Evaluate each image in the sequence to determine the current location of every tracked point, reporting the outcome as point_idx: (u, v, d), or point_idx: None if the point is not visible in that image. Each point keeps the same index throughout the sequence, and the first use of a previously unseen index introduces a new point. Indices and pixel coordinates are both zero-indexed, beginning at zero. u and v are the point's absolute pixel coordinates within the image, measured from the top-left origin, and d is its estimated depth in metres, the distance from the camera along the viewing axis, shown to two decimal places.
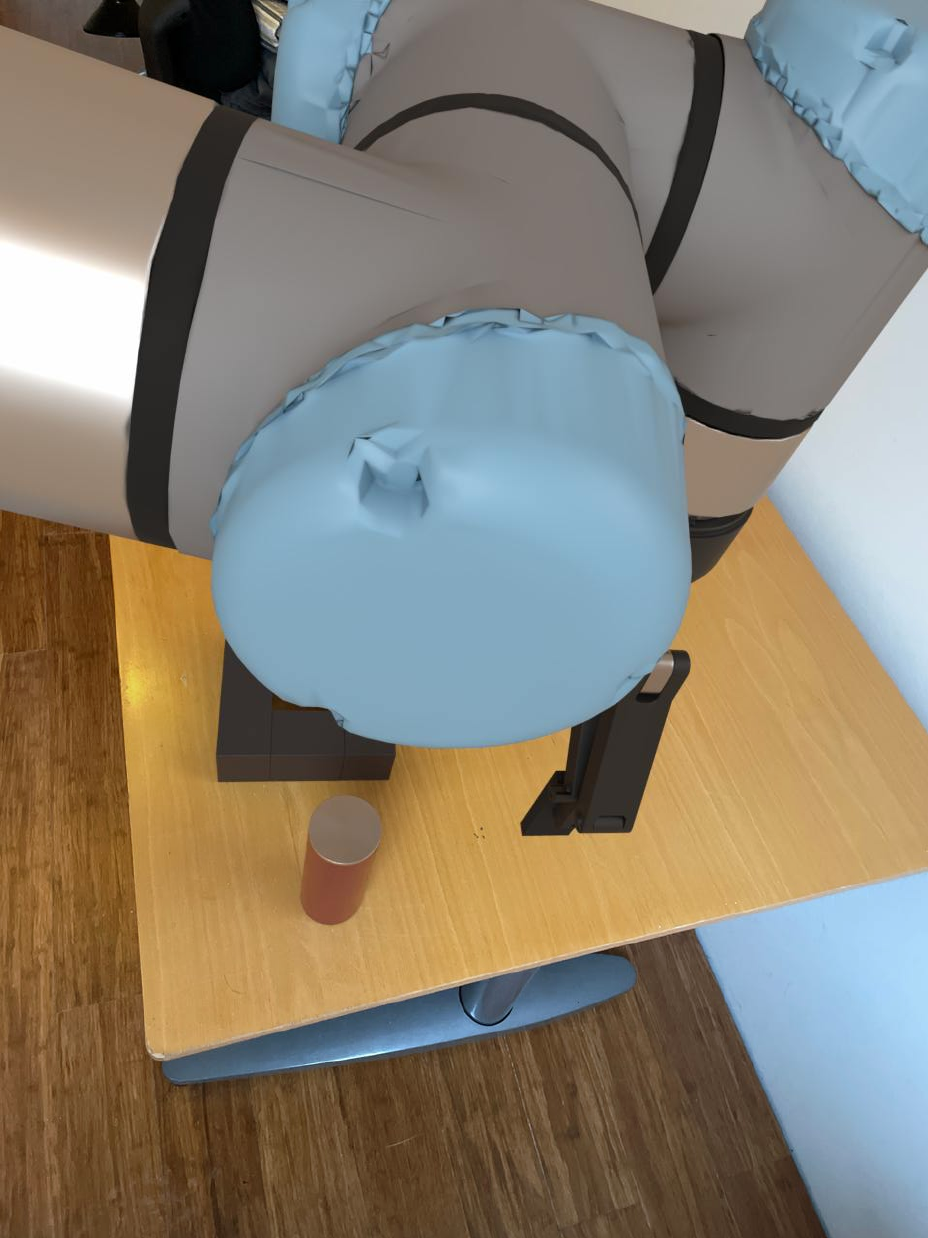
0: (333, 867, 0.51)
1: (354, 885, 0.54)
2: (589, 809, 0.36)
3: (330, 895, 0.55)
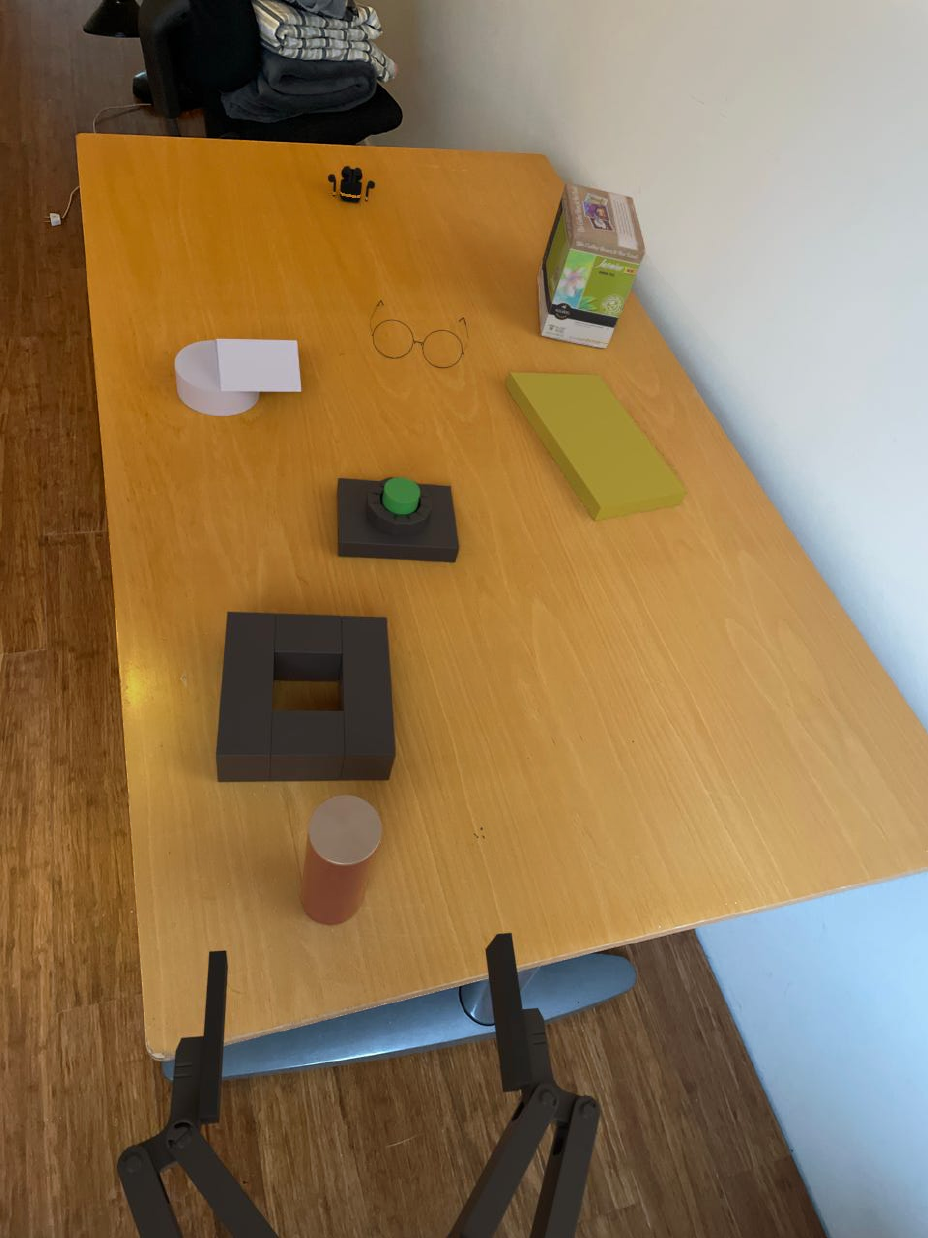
0: (333, 867, 0.51)
1: (354, 885, 0.54)
2: (128, 1203, 0.31)
3: (330, 895, 0.55)
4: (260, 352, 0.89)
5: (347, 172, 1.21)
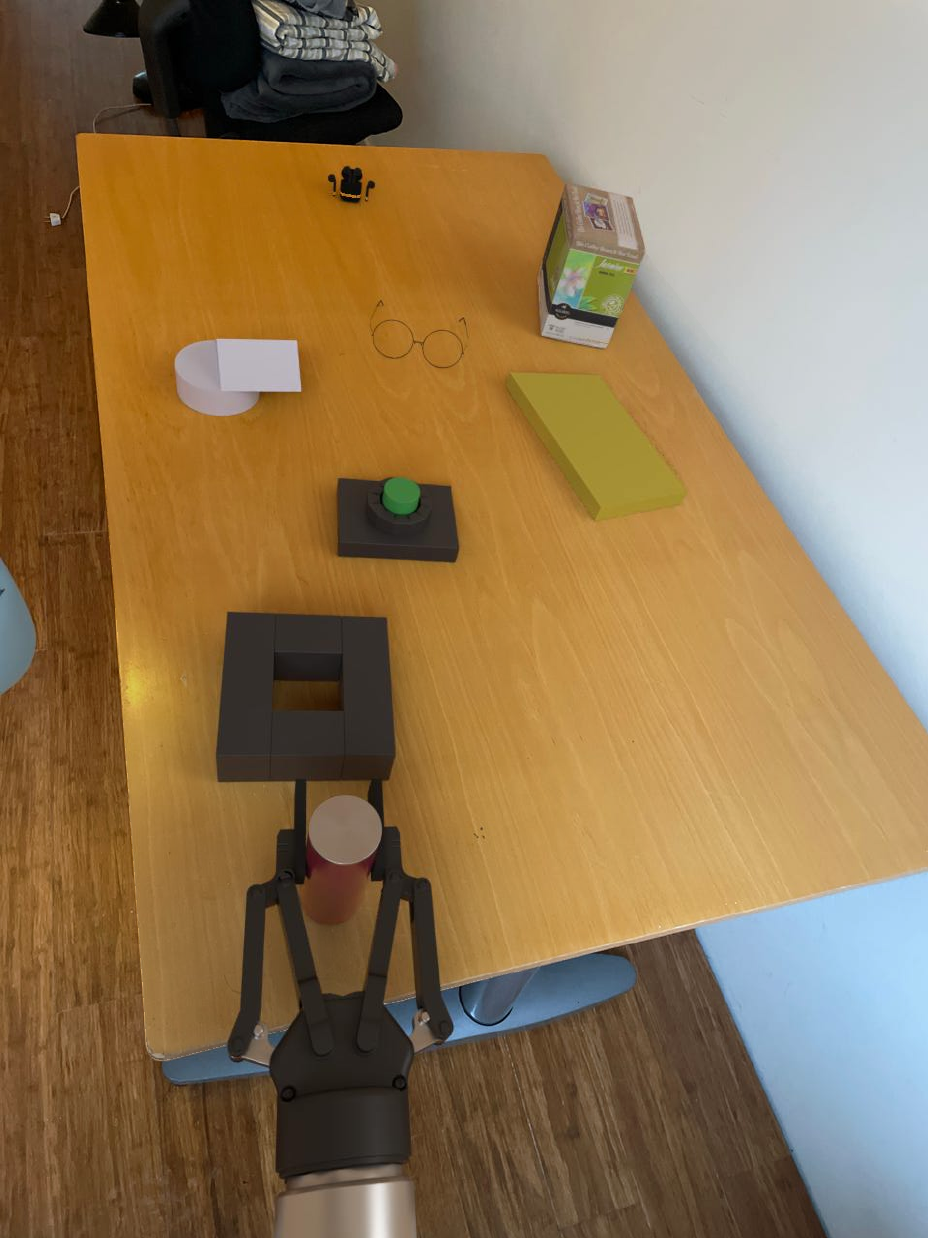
0: (333, 867, 0.51)
1: (354, 885, 0.54)
2: None
3: (330, 895, 0.55)
4: (260, 352, 0.89)
5: (347, 172, 1.21)
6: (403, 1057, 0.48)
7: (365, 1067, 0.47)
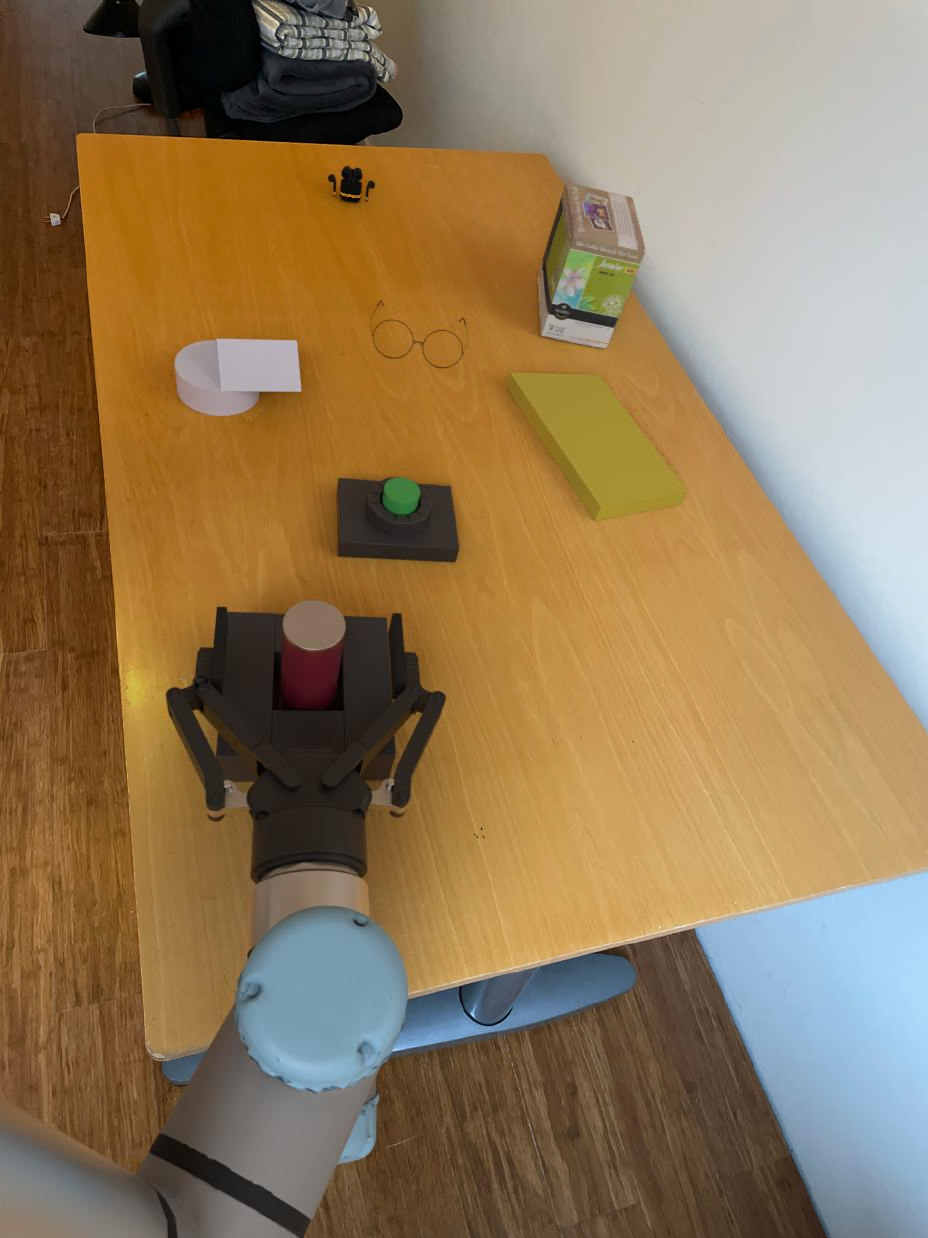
0: (303, 653, 0.60)
1: (323, 680, 0.63)
2: (172, 710, 0.57)
3: (302, 692, 0.64)
4: (260, 352, 0.89)
5: (347, 172, 1.21)
6: (362, 796, 0.56)
7: (329, 801, 0.55)
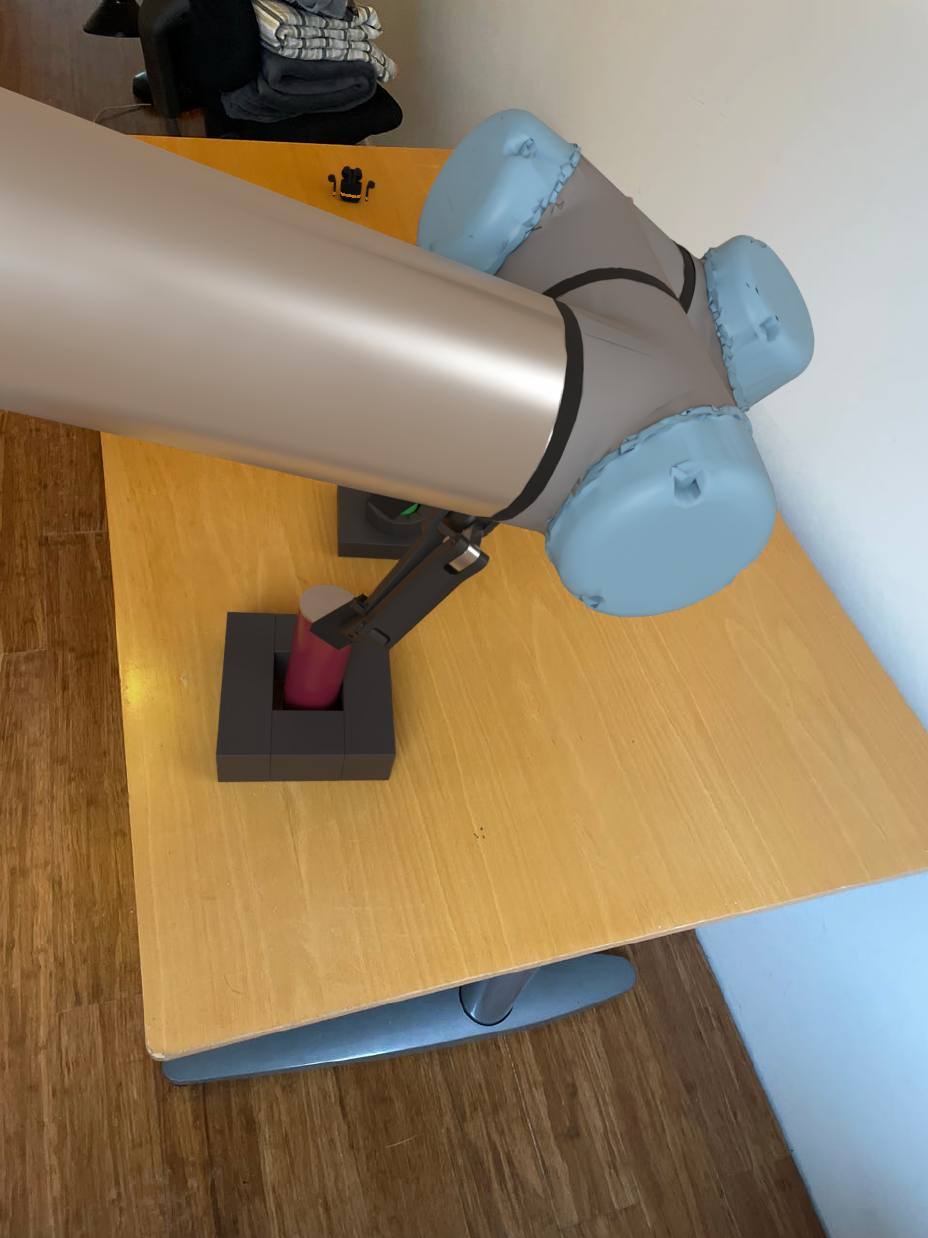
0: None
1: (334, 664, 0.63)
2: (373, 618, 0.52)
3: (313, 678, 0.64)
4: None
5: (347, 172, 1.21)
6: None
7: None
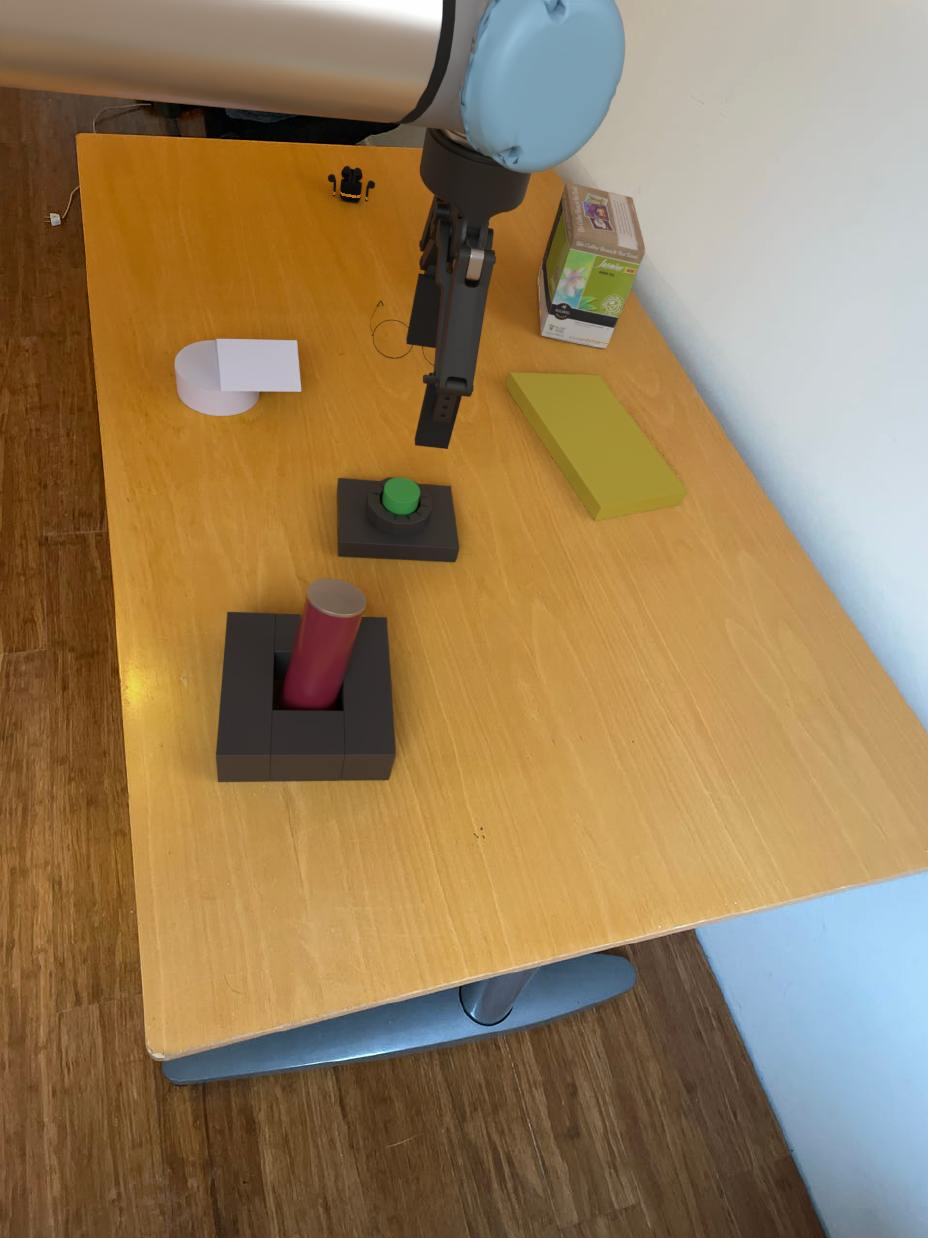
0: (329, 620, 0.61)
1: (340, 657, 0.63)
2: (441, 369, 0.57)
3: (317, 672, 0.64)
4: (260, 352, 0.89)
5: (347, 172, 1.21)
6: None
7: None
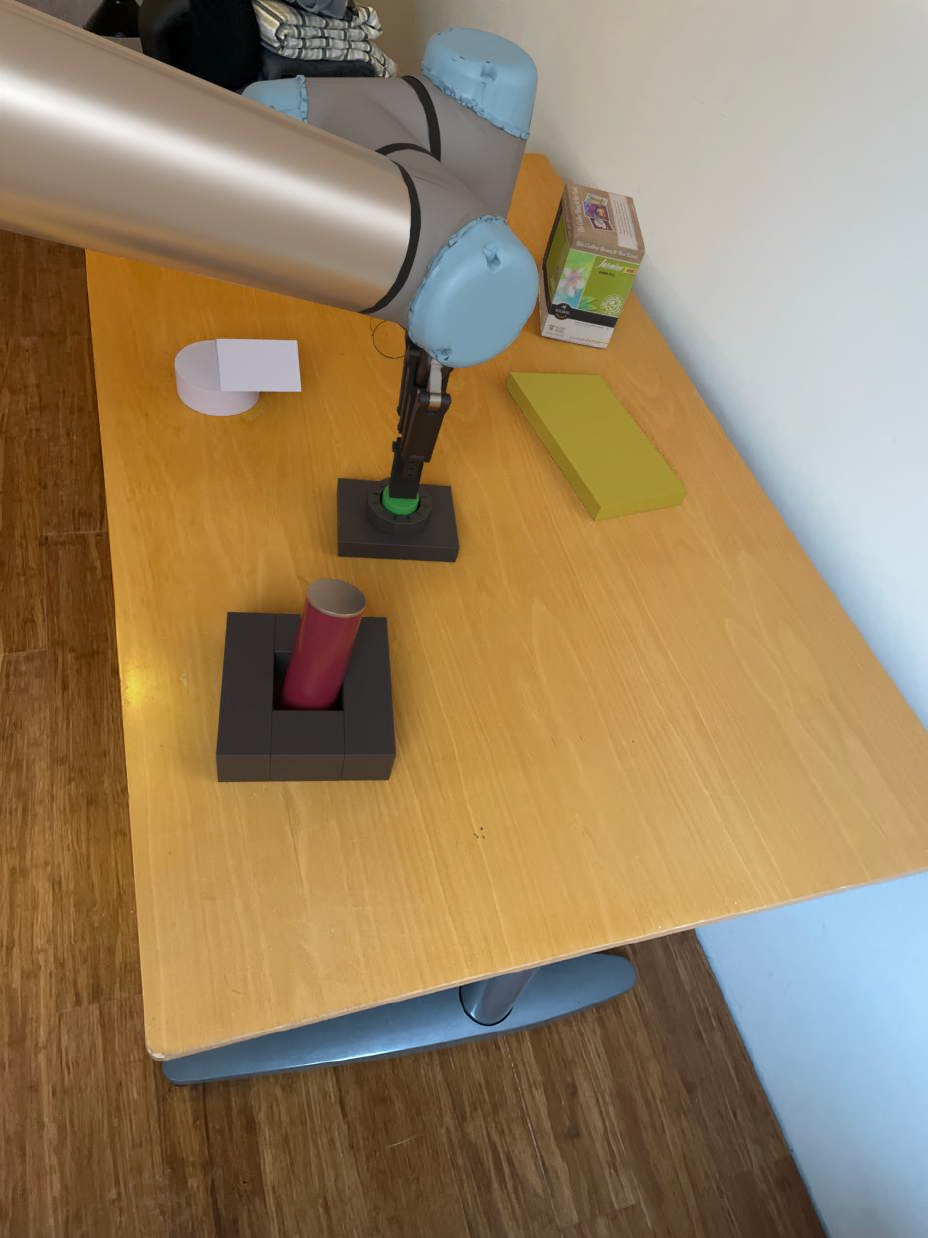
0: (328, 620, 0.61)
1: (339, 657, 0.63)
2: (405, 452, 0.72)
3: (317, 672, 0.64)
4: (260, 352, 0.89)
5: None
6: None
7: None
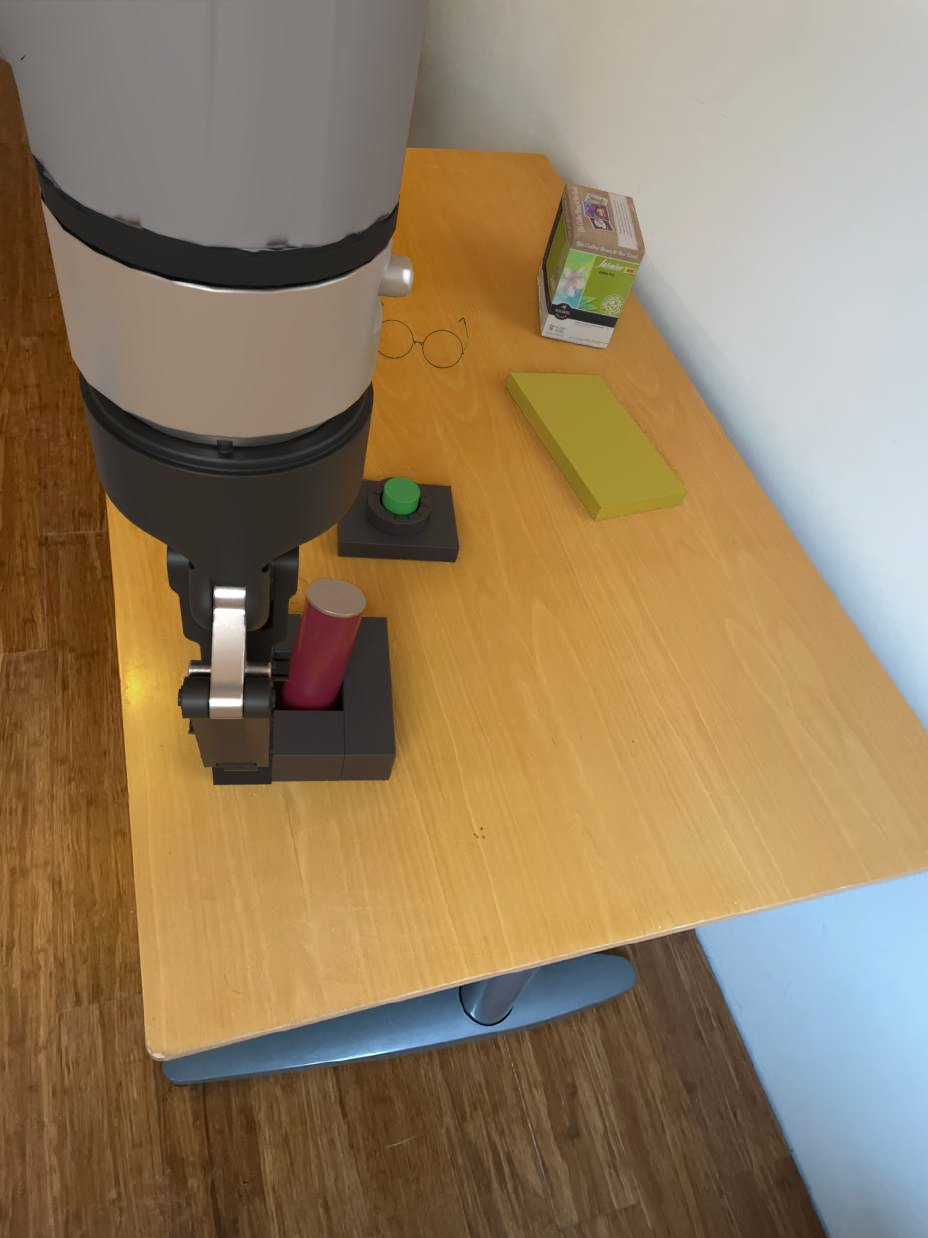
0: (328, 620, 0.61)
1: (339, 657, 0.63)
2: (202, 760, 0.30)
3: (317, 672, 0.64)
4: None
5: None
6: None
7: None
